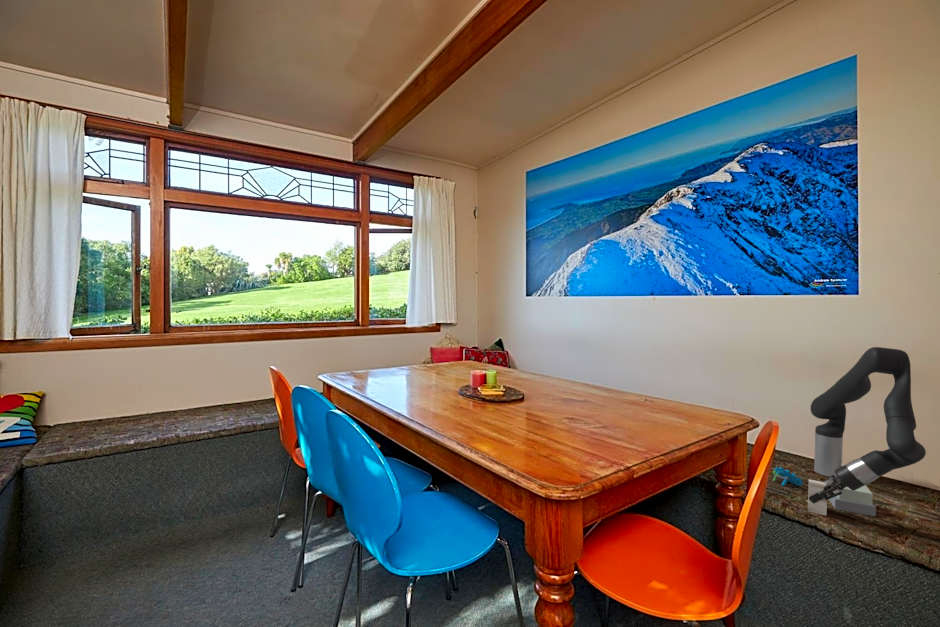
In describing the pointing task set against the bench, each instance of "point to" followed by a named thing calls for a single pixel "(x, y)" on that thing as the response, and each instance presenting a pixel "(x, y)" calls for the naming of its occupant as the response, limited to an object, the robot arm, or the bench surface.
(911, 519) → the bench surface
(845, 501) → the tower base
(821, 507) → the cream block
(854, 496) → the tower top
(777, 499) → the bench surface
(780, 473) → the blue toy dinosaur
